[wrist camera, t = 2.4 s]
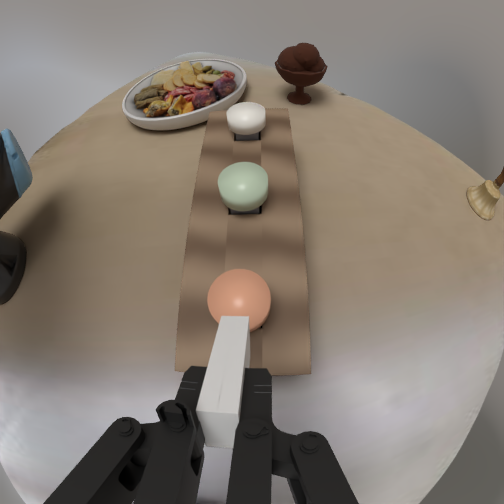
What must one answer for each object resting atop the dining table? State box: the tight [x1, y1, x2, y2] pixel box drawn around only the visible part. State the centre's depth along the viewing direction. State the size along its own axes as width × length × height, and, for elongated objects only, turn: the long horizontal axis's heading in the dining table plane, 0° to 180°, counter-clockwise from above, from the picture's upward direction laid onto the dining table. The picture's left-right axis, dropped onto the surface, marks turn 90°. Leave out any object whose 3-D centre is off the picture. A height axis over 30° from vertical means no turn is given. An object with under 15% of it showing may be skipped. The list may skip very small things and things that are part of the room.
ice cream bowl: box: [275, 43, 327, 105], centre depth 48 cm, size 11×11×15 cm
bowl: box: [122, 59, 247, 130], centre depth 54 cm, size 30×30×8 cm
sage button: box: [218, 162, 268, 215], centre depth 29 cm, size 5×5×6 cm
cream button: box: [226, 102, 266, 141], centre depth 35 cm, size 5×5×6 cm
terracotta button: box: [207, 269, 271, 332], centre depth 24 cm, size 5×5×6 cm
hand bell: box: [467, 168, 504, 220], centre depth 33 cm, size 8×8×16 cm
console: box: [175, 109, 311, 376], centre depth 34 cm, size 36×12×10 cm, turn 179°
